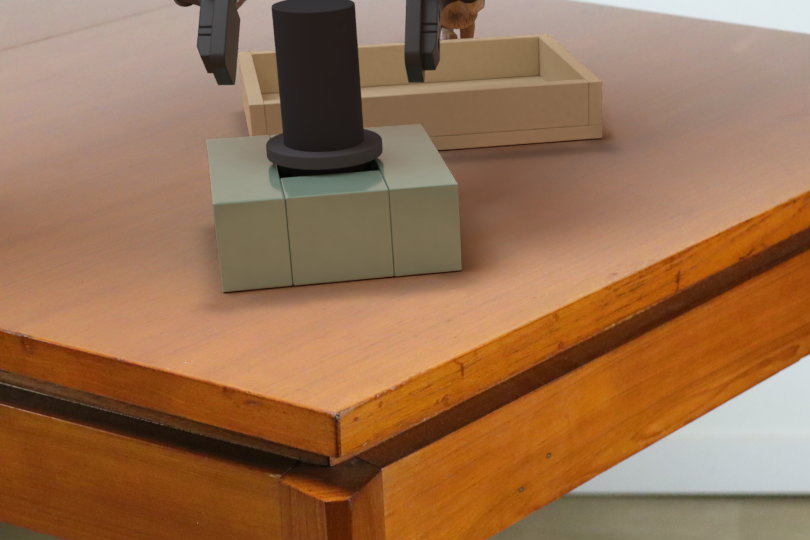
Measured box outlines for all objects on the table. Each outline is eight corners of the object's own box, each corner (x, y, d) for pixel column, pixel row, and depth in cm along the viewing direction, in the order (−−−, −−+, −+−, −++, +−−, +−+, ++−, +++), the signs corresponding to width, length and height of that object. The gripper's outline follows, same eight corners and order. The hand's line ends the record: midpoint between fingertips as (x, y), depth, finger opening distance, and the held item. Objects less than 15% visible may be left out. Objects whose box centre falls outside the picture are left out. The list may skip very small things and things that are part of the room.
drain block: (222, 292, 65) (212, 203, 63) (214, 218, 74) (205, 139, 72) (462, 270, 67) (458, 183, 65) (425, 201, 76) (421, 123, 75)
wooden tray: (254, 164, 83) (248, 104, 81) (243, 104, 95) (237, 52, 93) (602, 138, 87) (602, 81, 85) (549, 84, 99) (548, 33, 97)
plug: (279, 267, 68) (255, 19, 63) (272, 230, 72) (249, -3, 68) (395, 256, 69) (380, 11, 64) (380, 221, 73) (365, -10, 69)
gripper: (487, -166, 76) (483, 117, 71) (204, -163, 76) (178, 120, 71) (477, -279, 69) (472, 25, 64) (165, -276, 69) (133, 29, 64)
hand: (317, 75), depth 67 cm, fingers open, 8 cm apart
